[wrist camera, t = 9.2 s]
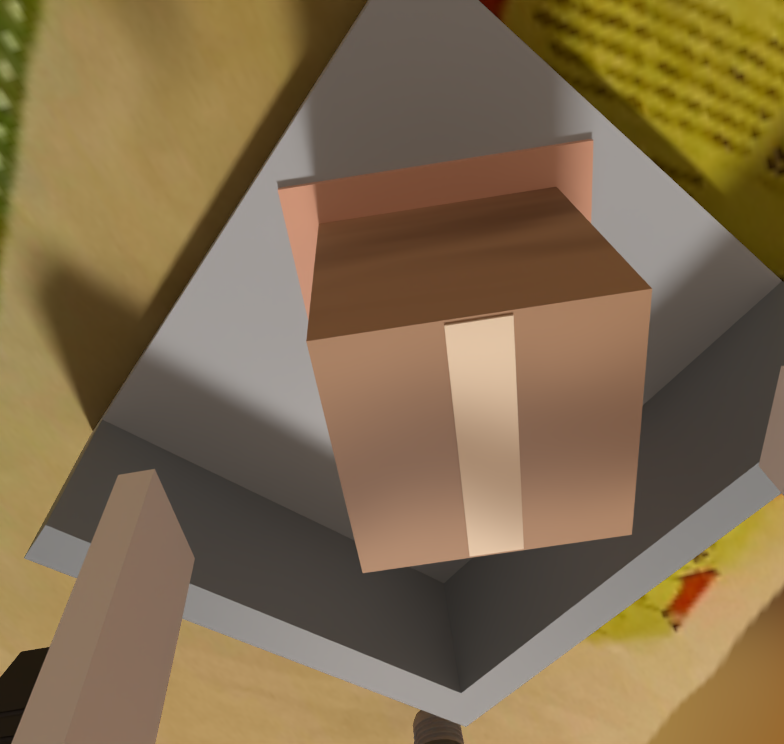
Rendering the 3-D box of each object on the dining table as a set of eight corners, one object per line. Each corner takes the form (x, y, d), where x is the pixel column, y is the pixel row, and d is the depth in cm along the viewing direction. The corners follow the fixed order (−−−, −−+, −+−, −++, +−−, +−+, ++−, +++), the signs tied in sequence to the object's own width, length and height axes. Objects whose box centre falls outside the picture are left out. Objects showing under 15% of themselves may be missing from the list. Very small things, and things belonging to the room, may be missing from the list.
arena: (92, 432, 24) (24, 557, 19) (406, -61, 16) (434, -72, 11) (445, 598, 30) (465, 726, 25) (792, 293, 23) (921, 389, 18)
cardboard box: (318, 223, 19) (306, 342, 13) (556, 186, 19) (653, 289, 13) (358, 415, 23) (363, 574, 17) (557, 385, 23) (632, 535, 17)
